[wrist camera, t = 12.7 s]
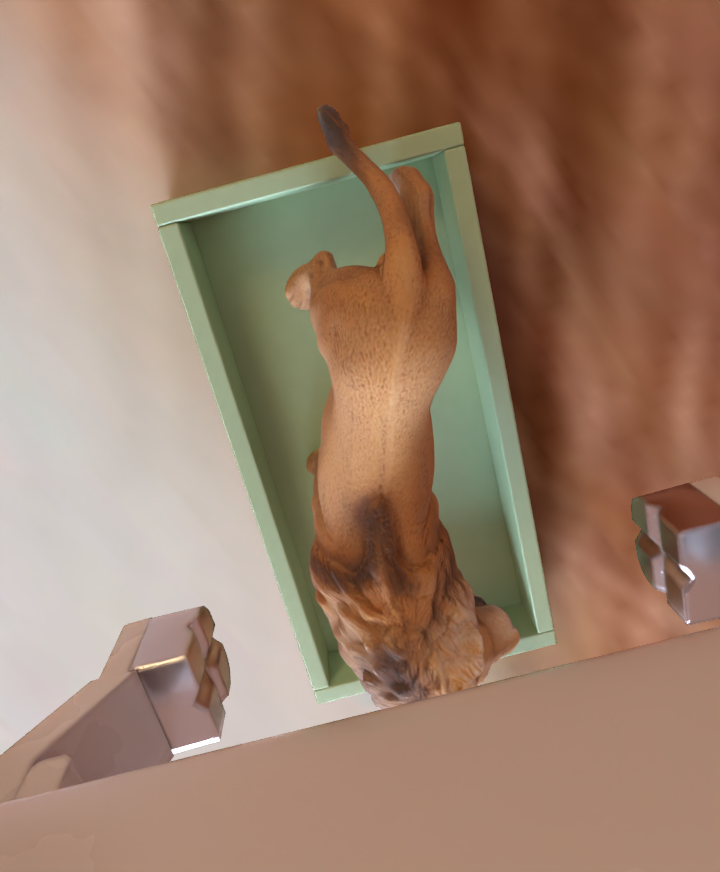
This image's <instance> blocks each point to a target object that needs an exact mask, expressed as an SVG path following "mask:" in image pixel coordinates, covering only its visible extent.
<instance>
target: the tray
mask: <svg viewBox="0 0 720 872" xmlns="http://www.w3.org/2000/svg"><path fill="white" fill-rule="evenodd" d="M463 144H464V139H463V133H462V128H461V124H460V122H456V123H452V124H448V125H444V126H441V127H437V128H433V129H430V130H426V131H422V132H419V133H415V134H411V135H407V136H404V137H400V138H396V139H393V140H389V141H385V142H381V143H378V144H374V145H370V146H367V147H363V148H359V149H360V150H361V151H362V152H363V153H364V154H366V155H367V156H368V157H369V159H370V160H371V161H372V162H373V163H375V164H376V165H377V166H378V167H379V168H380V169H381V170H382V171H383V172H384V173H385V174H386V175H387V176H388V177H389V175H390V173H391V172H392V171H393V170H394V169H396V168H397V167H400V166H410V167H415V168H416V169H418V170H419V171H420V173H421V175H422V177H423V178H424V179H425V180H426V181H427V182H428V183H429V185H430V187H431V188H432V191H433V194H434V199H435V201H434V217H435V226H436V234H437V238H438V242H439V246H440V249H441V251H442V254H443V256H444V259H445V261H446V263H447V265H448V268H449V270H450V272H451V274H452V276H453V279H454V282H455V288H456V315H457V345H456V351H455V354H454V357H453V359H452V361H451V363H450V365H449V368H448V370H447V372H446V374H445V376H444V378H443V380H442V382H441V384H440V386H439V387H438V389H437V391H436V393H435V395H434V397H433V400H432V402H431V406H430V413H431V419H432V428H433V437H434V454H435V470H434V479H433V485H432V491H433V493H434V494H435V495H436V497H437V499H438V503H439V519H440V520H441V522H442V524H443V525H444V527H445V528H446V530H447V531H448V533H449V537H450V540H451V543H452V547H453V550H454V554H455V558H456V563H457V568H459V570H460V571H461V573H462V575H463V578H464V579H465V580H466V581H467V582H468V584H469V585H470V586H471V588H472V590H473V594H474V595H478V596H480V597H481V598H482V599H483V600H484V601H485V603H486V604H487V605H489V604H492V605H495V606H497V607H499V608H500V609H502V610H503V611H504V612H505V613H506V614H507V615H508V616H509V618H510V620H511V623H512V625H513V627H515V628H516V629H517V630H518V632H519V634H520V640H519V642H518V644H517V646H516V647H515V649H514V650H513V651H512V652H511V653H509V654H507V655H505V656H504V657H506V656H510V655H514V654H518V653H522V652H526V651H530V650H533V649H537V648H541V647H545V646H549V645H553V644H556V643H557V641H556V636H555V630H554V625H553V620H552V615H551V609H550V604H549V598H548V593H547V588H546V582H545V577H544V571H543V566H542V561H541V555H540V550H539V544H538V539H537V534H536V528H535V523H534V517H533V512H532V507H531V501H530V496H529V490H528V485H527V479H526V474H525V469H524V463H523V458H522V452H521V447H520V442H519V436H518V431H517V425H516V420H515V415H514V409H513V404H512V398H511V393H510V388H509V382H508V377H507V371H506V366H505V361H504V355H503V350H502V344H501V339H500V333H499V328H498V323H497V317H496V312H495V306H494V301H493V296H492V290H491V285H490V279H489V274H488V269H487V263H486V258H485V252H484V247H483V242H482V236H481V231H480V225H479V220H478V215H477V209H476V204H475V198H474V193H473V188H472V182H471V177H470V171H469V166H468V160H467V155H466V150H465V147H464V146H462V145H463ZM151 210H152V213H153V216H154V219H155V222H156V225H157V226H159V228H158V231H159V234H160V237H161V240H162V243H163V246H164V249H165V252H166V254H167V257H168V260H169V263H170V266H171V269H172V272H173V275H174V278H175V281H176V284H177V287H178V290H179V293H180V296H181V299H182V302H183V305H184V308H185V311H186V314H187V317H188V320H189V323H190V326H191V329H192V332H193V335H194V338H195V341H196V343H197V346H198V349H199V352H200V355H201V358H202V361H203V364H204V367H205V370H206V373H207V376H208V379H209V382H210V385H211V388H212V391H213V394H214V397H215V400H216V403H217V406H218V409H219V412H220V415H221V418H222V421H223V424H224V427H225V430H226V432H227V435H228V438H229V441H230V444H231V447H232V450H233V453H234V456H235V459H236V462H237V465H238V468H239V471H240V474H241V477H242V480H243V483H244V486H245V489H246V492H247V495H248V498H249V501H250V504H251V507H252V510H253V513H254V516H255V519H256V521H257V524H258V527H259V530H260V533H261V536H262V539H263V542H264V545H265V548H266V551H267V554H268V557H269V560H270V563H271V566H272V569H273V572H274V575H275V578H276V581H277V584H278V587H279V590H280V593H281V596H282V599H283V602H284V605H285V608H286V610H287V613H288V616H289V619H290V622H291V625H292V628H293V631H294V634H295V637H296V640H297V643H298V646H299V649H300V652H301V655H302V658H303V661H304V664H305V667H306V670H307V673H308V676H309V679H310V682H311V685H312V688H313V689H314V694H315V697H316V700H317V703H318V704H321V703H325V702H329V701H333V700H337V699H341V698H345V697H349V696H353V695H357V694H361V693H365V692H366V691H365V689H364V688H363V686H362V685H361V683H360V680H359V677H358V676H356V674H355V673H354V672H353V670H352V668H351V667H350V666H348V665H347V664H346V662H345V661H344V659H343V658H342V657H341V655H340V653H339V650H338V641H337V639H336V638H335V636H334V633H333V630H332V628H331V625H330V623H329V619H328V618H327V616H326V614H325V613H324V611H323V608H322V607H321V606H320V605H319V604H318V602H317V601H316V598H315V592H316V589H315V588H314V586H313V583H312V580H311V573H310V569H309V561H310V552H311V548H312V545H313V542H314V539H315V531H314V513H313V511H312V505H311V503H312V497H313V482H314V477H315V476H314V475H313V474H312V473H310V472H308V470H307V468H306V463H307V459H308V456H309V455H310V454H311V453H312V452H313V451H315V450H316V449H317V448H319V447H320V445H321V420H322V416H323V411H324V408H325V405H326V402H327V399H328V395H329V392H330V389H331V386H332V380H331V376H330V372H329V368H328V364H327V362H326V360H325V359H324V357H323V356H322V354H321V352H320V350H319V348H318V344H317V335H316V333H315V331H314V328H313V326H312V322H311V317H310V310H302V309H298V308H294V307H293V306H292V305H291V304H290V302H289V301H288V299H287V298H286V295H285V287H286V284H287V281H288V279H289V277H290V276H291V274H292V273H293V272H294V271H295V270H296V269H297V268H298V267H300V266H301V265H303V264H306V263H308V262H309V261H311V260H312V259H313V257H314V256H315V255H316V254H317V253H319V252H320V251H329V252H330V253H331V254H333V257H334V259H335V262H336V265H337V268H340V267H344V266H351V265H361V266H367V267H375V266H376V265H377V262H378V259H379V258H380V256H381V255H382V254H384V253H385V236H384V229H383V224H382V220H381V217H380V214H379V211H378V209H377V206H376V204H375V202H374V200H373V199H372V197H371V196H370V194H369V192H368V190H367V188H366V187H365V185H364V184H363V183H362V182H361V180H360V179H359V178H358V177H357V176H356V175H355V174H354V173H353V172H352V171H351V170H350V169H349V168H348V167H347V166H346V165H345V164H344V163H343V162H342V161H341V160H340V159H339V158H338V157H336V156H335V155H333V156H329V157H326V158H322V159H318V160H315V161H311V162H307V163H303V164H300V165H296V166H292V167H289V168H285V169H281V170H278V171H274V172H270V173H266V174H263V175H259V176H255V177H252V178H248V179H244V180H240V181H237V182H233V183H229V184H226V185H222V186H218V187H214V188H211V189H207V190H203V191H200V192H196V193H192V194H188V195H185V196H181V197H177V198H174V199H170V200H166V201H162V202H159V203H155V204H152V205H151Z"/></svg>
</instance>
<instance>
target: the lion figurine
mask: <svg viewBox="0 0 720 872" xmlns="http://www.w3.org/2000/svg"><path fill="white" fill-rule="evenodd" d="M317 117H318V120H319V123H320V125H321V128H322V131H323V134H324V136H325V139H326V141H327V144H328V147H329V149H330V151H331V152H332V153H333V154H334V155H335V156H336V157H338V158H339V159H340V160H341V161H342V162H343V163H344V164H345V165H346V166H347V167H348V168H349V169H350V170H351V171H352V172H353V173H354V174H355V175H356V176H357V177H358V178H359V179H360V180H361V182H362V183H363V184H364V185H365V187H366V188H367V190H368V192H369V194H370V196H371V197H372V199H373V200H374V202H375V204H376V206H377V209H378V211H379V214H380V217H381V220H382V224H383V229H384V236H385V253H384V254H382V255H381V256H380V258H379V259H378V262H377V265H376V266H375V267H367V266H361V265H351V266H344V267H340V268H337V265H336V262H335V259H334V257H333V254H331V253H330V252H329V251H320V252H319V253H317V254H316V255H315V256H314V257H313V259H312V260H311V261H309V262H308V263H306V264H303V265H301V266H300V267H298V268H297V269H296V270H295V271H294V272H293V273H292V274H291V276H290V277H289V279H288V281H287V284H286V287H285V295H286V298H287V299H288V301H289V302H290V304H291V305H292V306H293V307H294V308H298V309H302V310H310V317H311V322H312V326H313V328H314V331H315V333H316V335H317V344H318V348H319V350H320V352H321V354H322V356H323V357H324V359H325V360H326V362H327V364H328V368H329V372H330V376H331V380H332V386H331V389H330V392H329V395H328V399H327V402H326V405H325V408H324V411H323V416H322V420H321V445H320V447H319V448H317V449H316V450H315V451H313V452H312V453H311V454H310V455H309V456H308V459H307V463H306V468H307V470H308V472H310V473H312V474H313V475H314V476H315V477H314V482H313V497H312V503H311V505H312V511H313V513H314V531H315V539H314V542H313V545H312V548H311V552H310V561H309V569H310V573H311V580H312V583H313V586H314V588H315V589H316V592H315V598H316V601H317V602H318V604H319V605H320V606H321V607H322V608H323V611H324V613H325V614H326V616H327V618H328V619H329V623H330V625H331V628H332V630H333V633H334V636H335V638H336V639H337V641H338V650H339V653H340V655H341V657H342V658H343V659H344V661H345V662H346V664H347V665H348V666H350V667H351V668H352V670H353V672H354V673H355V674H356V676H358V677H359V680H360V683H361V685H362V686H363V688H364V689H365V691H366V692H368V693H369V694H370V695H371V699H372V701H373V703H374V704H375V705H376V706H377V707H379V708H380V709H381V710H382V709H386V708H390V707H394V706H399V705H403V704H407V703H411V702H415V701H419V700H423V699H427V698H431V697H435V696H439V695H443V694H447V693H451V692H455V691H460V690H464V689H468V688H472V687H476V686H478V685H479V684H481V683H482V682H483V681H484V679H485V678H486V676H487V674H488V671H489V669H490V667H491V665H492V664H493V663H495V662H497V661H498V660H499V659H500V658H502V657H504V656H505V655H507V654H509V653H511V652H512V651H513V650H514V649H515V647H516V646H517V644H518V642H519V640H520V634H519V632H518V630H517V629H516V628H515V627H513V625H512V623H511V620H510V618H509V616H508V615H507V614H506V613H505V612H504V611H503V610H502V609H500V608H499V607H497V606H495V605H492V604H489V605H487V604H486V603H485V601H484V600H483V599H482V598H481V597H480V596H478V595H474V594H473V590H472V588H471V586H470V585H469V584H468V582H467V581H466V580H465V579H464V578H463V575H462V573H461V571H460V570H459V568H457V563H456V558H455V554H454V550H453V547H452V543H451V540H450V537H449V533H448V531H447V530H446V528H445V527H444V525H443V524H442V522H441V520H440V519H439V503H438V499H437V497H436V495H435V494H434V493H433V491H432V485H433V479H434V470H435V454H434V437H433V428H432V419H431V413H430V406H431V402H432V400H433V397H434V395H435V393H436V391H437V389H438V387H439V386H440V384H441V382H442V380H443V378H444V376H445V374H446V372H447V370H448V368H449V365H450V363H451V361H452V359H453V357H454V354H455V351H456V345H457V315H456V288H455V282H454V279H453V276H452V274H451V272H450V270H449V268H448V265H447V263H446V261H445V259H444V256H443V254H442V251H441V249H440V246H439V242H438V238H437V234H436V226H435V217H434V201H435V199H434V194H433V191H432V188H431V187H430V185H429V183H428V182H427V181H426V180H425V179H424V178H423V177H422V175H421V173H420V171H419V170H418V169H416V168H415V167H410V166H400V167H397V168H396V169H394V170H393V171H392V172H391V173H390V175H389V177H388V176H387V175H386V174H385V173H384V172H383V171H382V170H381V169H380V168H379V167H378V166H377V165H376V164H375V163H373V162H372V161H371V160H370V159H369V157H368V156H367V155H366V154H364V153H363V152H362V151H361V150H360V149H359V148H358V147H357V146H356V144H355V143H354V141H353V140H352V138H351V136H350V132H349V128H348V125H346V124H345V123H344V122H343V121H342V119H341V118H340V116H339V113H338V112H337V111H336V110H335V109H334V108H333V107H331V106H329V105H322V106H319V107H318V109H317Z"/></svg>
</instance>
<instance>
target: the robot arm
mask: <svg viewBox="0 0 720 872" xmlns="http://www.w3.org/2000/svg"><path fill="white" fill-rule="evenodd" d="M631 512H632V520H633V521H634V522H635V523H636V524H637V525H638V526H639V527H640V528H641V531H640V533H639V535H638V536H637V538H636V540H635V545H636V551H637V557H638V560H639V563H640V566H641V568H642V571H643V573H644V575H645V576H646V578H647V580H648V581H649V583H650V584H651V585H652V586H653V587H654V588H655V589H656V590H659V591H662V592H665V593H666V595H667V603H668V604H669V606H670V607H671V608H672V609H673V610H674V611H675V612H676V613H677V614H678V616H679V617H680V618H681V619H682V620H683V621H684V622H685V623H686V624H687V625H692V624H697V623H701V622H706V621H710V620H715V619H720V478H719V477H713V476H711V477H707V478H704V479H701V480H697V481H694V482H690V483H686V484H683V485H679V486H675V487H672V488H668V489H665V490H661V491H657V492H654V493H650V494H647V495H643V496H639V497H636V498H634V499H632V504H631ZM214 627H215V623H214V621H213V619H212V616H211V614H210V612H209V610H208V609H207V608H206V607H205V606H201V607H196V608H192V609H188V610H184V611H179V612H175V613H171V614H166V615H162V616H158V617H154V618H148V619H144V620H140V621H137V622H133V623H130V624H127V625H125V626H124V627H123V629H122V631H121V633H120V635H119V637H118V640H117V642H116V644H115V646H114V648H113V650H112V652H111V654H110V657H109V659H108V661H107V663H106V665H105V667H104V669H103V671H102V674H101V676H100V678H99V679H98V680H94V681H91V682H89V683H88V684H87V685H86V686H84V687H83V688H82V689H81V690H80V691H78V692H77V693H76V694H75V695H73V696H72V697H71V698H70V699H69V700H67V701H66V702H65V703H64V704H63V705H61V706H60V707H59V708H58V709H56V710H55V711H54V712H53V713H52V714H50V715H49V716H48V717H47V718H45V719H44V720H43V721H42V722H41V723H39V724H38V725H37V726H36V727H34V728H33V729H32V730H31V731H30V732H28V733H27V734H26V735H25V736H24V737H22V738H21V739H20V740H19V741H17V742H16V743H15V744H14V745H13V746H11V747H10V748H9V749H8V750H6V751H5V752H4V753H3V754H2V755H0V872H720V627H716V628H711V629H707V630H703V631H699V632H695V633H691V634H687V635H683V636H679V637H675V638H671V639H667V640H663V641H659V642H655V643H651V644H646V645H642V646H638V647H634V648H630V649H626V650H622V651H618V652H614V653H610V654H606V655H602V656H598V657H594V658H590V659H586V660H581V661H577V662H573V663H569V664H565V665H561V666H557V667H553V668H549V669H545V670H541V671H537V672H533V673H529V674H525V675H521V676H516V677H512V678H508V679H504V680H500V681H496V682H492V683H488V684H484V685H480V686H476V687H472V688H468V689H464V690H460V691H455V692H451V693H447V694H443V695H439V696H435V697H431V698H427V699H423V700H419V701H415V702H411V703H407V704H403V705H399V706H394V707H390V708H386V709H382V710H378V711H374V712H370V713H366V714H362V715H358V716H354V717H350V718H346V719H342V720H337V721H333V722H329V723H325V724H321V725H317V726H313V727H309V728H305V729H301V730H297V731H293V732H289V733H285V734H281V735H276V736H272V737H268V738H264V739H260V740H256V741H252V742H248V743H244V744H240V745H236V746H232V747H228V748H224V749H220V750H215V751H211V752H207V753H203V754H199V755H195V756H191V757H187V758H183V759H179V760H175V761H171V762H170V760H171V759H172V758H173V756H174V754H173V753H177V752H180V751H184V750H188V749H191V748H195V747H198V746H202V745H206V744H209V743H213V742H217V741H220V739H221V733H222V728H223V723H224V718H225V710H224V708H223V705H222V702H223V701H224V699H225V698H226V697H227V696H228V695H229V690H230V684H231V681H230V667H229V663H228V659H227V655H226V652H225V649H224V647H223V644H222V643H220V642H219V641H217V640H216V639H214V638H213V637H212V636H213V631H214Z"/></svg>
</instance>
